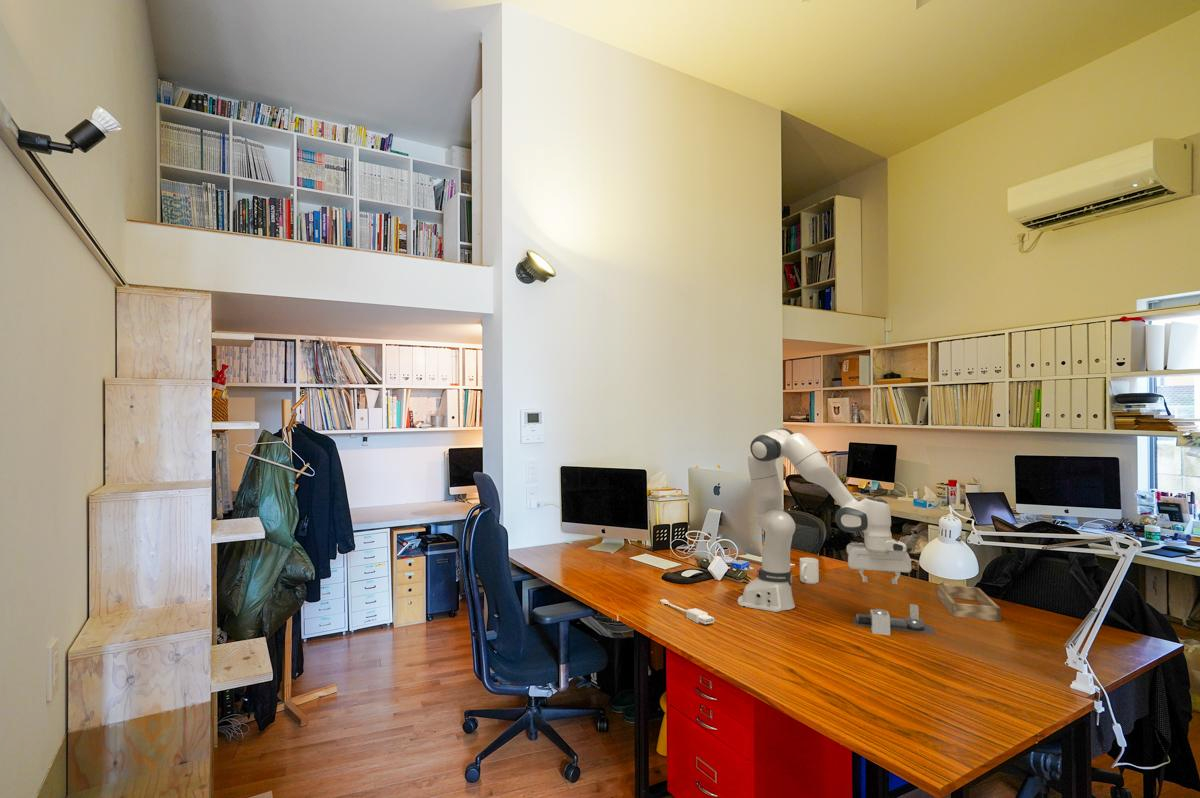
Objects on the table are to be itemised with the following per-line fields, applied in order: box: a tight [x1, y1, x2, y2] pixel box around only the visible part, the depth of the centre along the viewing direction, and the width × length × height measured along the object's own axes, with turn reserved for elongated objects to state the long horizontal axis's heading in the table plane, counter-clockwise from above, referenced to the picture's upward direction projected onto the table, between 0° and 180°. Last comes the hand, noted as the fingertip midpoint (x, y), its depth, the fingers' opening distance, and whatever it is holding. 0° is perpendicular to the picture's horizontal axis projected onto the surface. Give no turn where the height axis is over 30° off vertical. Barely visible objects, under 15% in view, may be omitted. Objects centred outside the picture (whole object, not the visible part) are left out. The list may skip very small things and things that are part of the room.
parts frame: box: [936, 583, 1002, 623], centre depth 228 cm, size 15×28×5 cm, turn 160°
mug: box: [799, 557, 820, 585], centre depth 265 cm, size 12×8×10 cm
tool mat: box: [852, 617, 937, 635], centre depth 207 cm, size 26×9×1 cm, turn 70°
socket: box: [869, 608, 891, 636], centre depth 201 cm, size 6×6×8 cm
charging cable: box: [659, 598, 715, 625], centre depth 222 cm, size 5×32×3 cm, turn 28°
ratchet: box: [855, 603, 925, 631], centre depth 207 cm, size 22×6×8 cm, turn 70°
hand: (879, 582), depth 201 cm, fingers open, 8 cm apart
